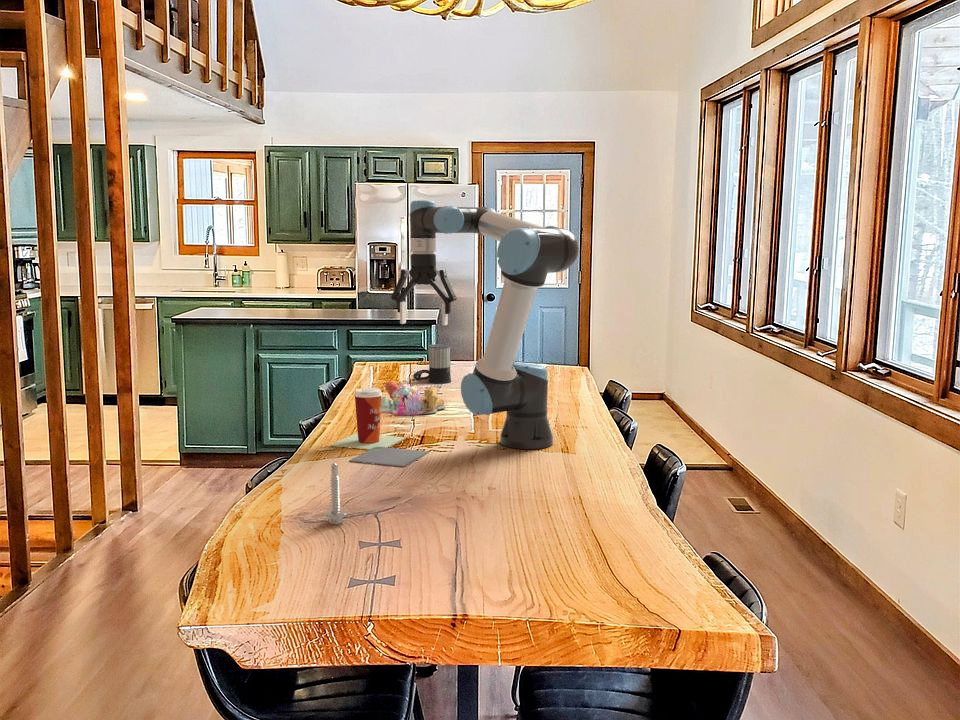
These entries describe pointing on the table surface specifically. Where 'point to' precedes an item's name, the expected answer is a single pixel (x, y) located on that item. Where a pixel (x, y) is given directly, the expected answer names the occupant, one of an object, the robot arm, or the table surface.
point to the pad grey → (390, 456)
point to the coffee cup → (368, 414)
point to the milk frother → (437, 364)
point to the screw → (335, 499)
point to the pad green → (354, 443)
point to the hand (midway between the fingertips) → (423, 324)
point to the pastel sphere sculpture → (410, 400)
